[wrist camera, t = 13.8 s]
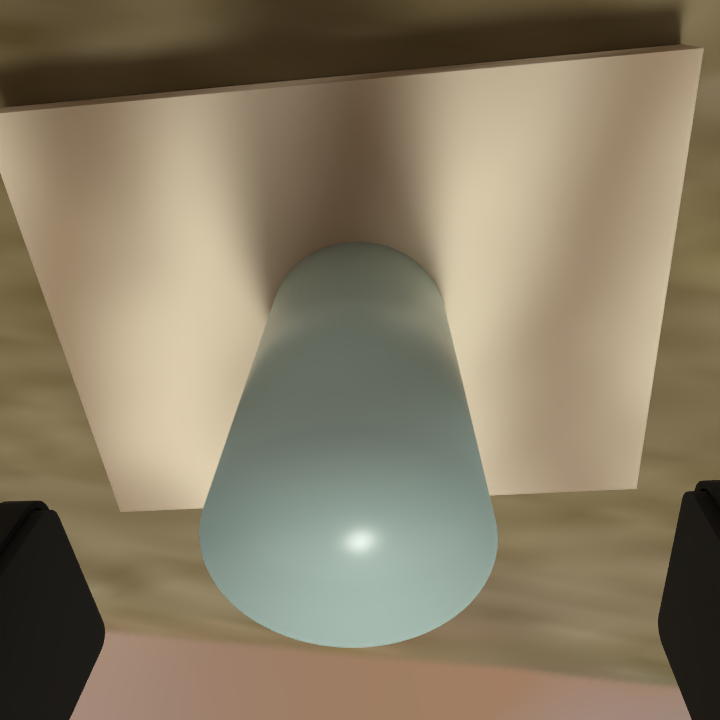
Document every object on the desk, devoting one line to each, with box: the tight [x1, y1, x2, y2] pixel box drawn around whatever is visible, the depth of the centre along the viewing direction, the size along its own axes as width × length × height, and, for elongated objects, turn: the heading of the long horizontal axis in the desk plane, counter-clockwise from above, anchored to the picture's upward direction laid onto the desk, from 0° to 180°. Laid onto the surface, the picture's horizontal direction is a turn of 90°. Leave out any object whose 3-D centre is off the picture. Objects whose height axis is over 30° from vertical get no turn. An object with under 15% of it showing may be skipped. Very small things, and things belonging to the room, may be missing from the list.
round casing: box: [199, 242, 498, 648], centre depth 14 cm, size 5×5×8 cm
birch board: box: [0, 44, 704, 512], centre depth 18 cm, size 16×12×1 cm
